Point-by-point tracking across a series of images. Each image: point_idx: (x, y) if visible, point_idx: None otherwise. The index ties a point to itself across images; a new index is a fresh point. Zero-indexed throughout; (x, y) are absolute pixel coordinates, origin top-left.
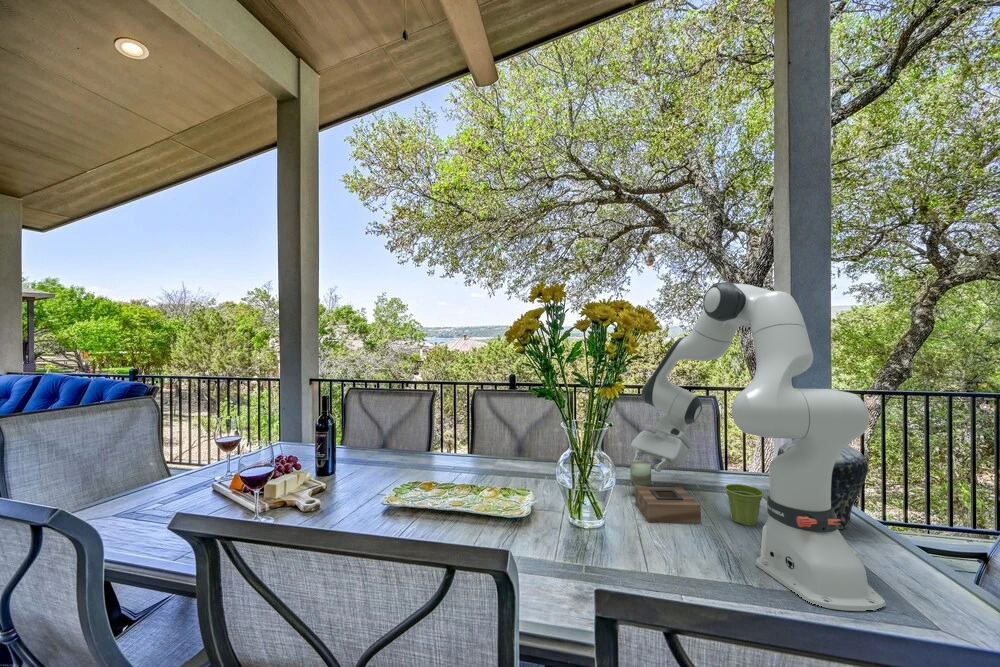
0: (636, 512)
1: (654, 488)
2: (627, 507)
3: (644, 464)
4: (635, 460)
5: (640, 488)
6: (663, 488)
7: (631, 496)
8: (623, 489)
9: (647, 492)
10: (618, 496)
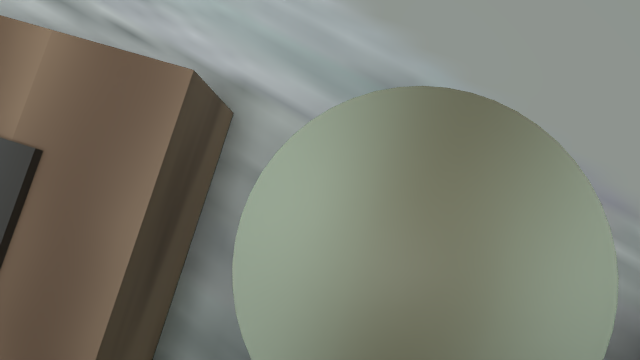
0: (72, 26)
1: (89, 243)
2: (175, 8)
3: (292, 276)
4: (582, 259)
5: (133, 96)
6: (57, 340)
7: None
8: None
9: (10, 101)
10: (413, 53)
